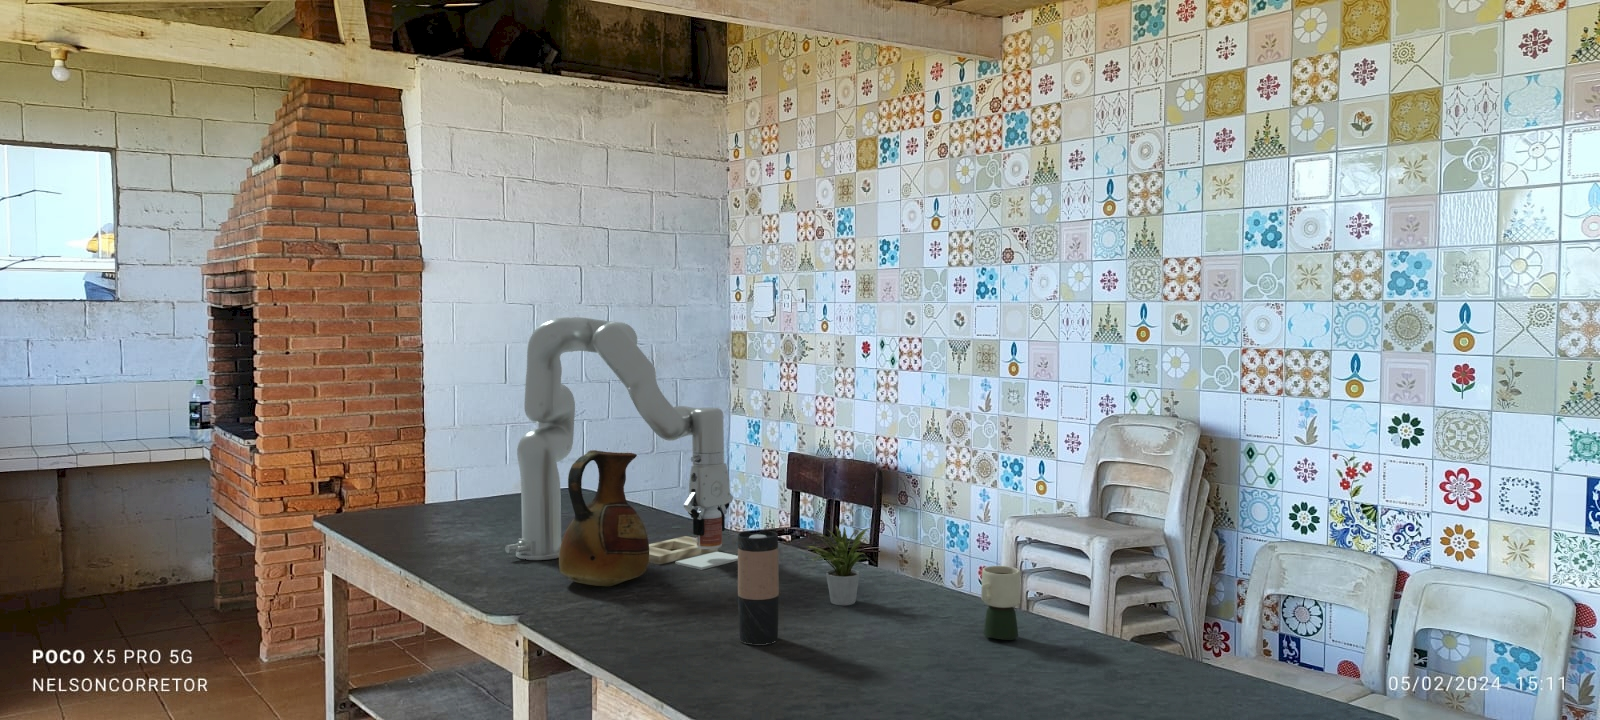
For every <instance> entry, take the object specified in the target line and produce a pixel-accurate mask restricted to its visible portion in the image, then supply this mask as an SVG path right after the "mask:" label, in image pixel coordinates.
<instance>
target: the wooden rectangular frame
mask: <svg viewBox="0 0 1600 720" xmlns="http://www.w3.org/2000/svg"><path fill="white" fill-rule="evenodd" d="M713 552H719V548H716V549H701V548H698V547H697V537H693V536H692V537H691V536H687V535H684V536H679V537H676V538H672V539H666V540H662V541H656V542H653V543H649V562H648V564H649V563H650V564H655V565H660V566H661V565H663V564H667V563H671V562H676V561H680V560H684V559H688V558H692V557H696V556H700V555H704V554H708V553H713Z"/></svg>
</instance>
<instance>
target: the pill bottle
mask: <svg viewBox="0 0 1600 720" xmlns="http://www.w3.org/2000/svg"><path fill="white" fill-rule="evenodd" d="M717 508H718V506H715V507H710V508H705V509H704V513H703V516H702V519H704V536H699V535H695V536H696V538H697V547H698V548H701V549H716V548H718V549H719V548H721V547H722V545H723V531H722V516H721V512H720V511H719V510H718V509H717ZM697 512H699V510H697Z"/></svg>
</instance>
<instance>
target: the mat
mask: <svg viewBox="0 0 1600 720" xmlns="http://www.w3.org/2000/svg"><path fill="white" fill-rule="evenodd" d="M674 562H675V565H679V566H683V567H688V568H692V569H697V570H700V571H702V570H706V569H710V568H715V567H718V566H722V565H725V564H726V565H727V564H729V563H733V562H734V563H735V562H738V555H736V554H731V553H726V552H722V551H714V552H709V553H705V554H701V555H697V556H693V557H689V558H685V559H681V560H676V561H674Z"/></svg>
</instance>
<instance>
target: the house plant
mask: <svg viewBox="0 0 1600 720" xmlns="http://www.w3.org/2000/svg"><path fill="white" fill-rule="evenodd" d="M871 529H872V527H868V528H865V529H857V530H855V531H854V532H853V533H852V534H851V536H850V538H849V540H848V536H847V531H846V528H845V526H844V527H843V531H841V529H840V528H839V526H837V525H835V530H836V535H835V534H834V533H833V532H832V531H831V530H829V529H828V528H826V530H827V531H828V532H829V533H830V534H831V535H832V538H833V539H834V541H835V543H836V545H835V544H834V542H833V541H832V540H831V539H830V538H829V537H828V536H827V535H825V534H822V533H821V532H820V533H819V532H816V531H813V533H814V534H818V536H817V538H818V539H821V541H822V542H824V544H826V545H827V547H828V548H829V549H830V550H831V551H832V552H829V551H827V550H825V549H823V548H820V547H817V546H812V545H806V547H807V548H808V549H811V550H813V551H812V553H817V554H818V555H819V556H816V557H815V558H813V559H812V560H811V562H813V561H815V560H819V559H824V560H825V561H826V562H827V563H828V565H830V566H831V567H832V568H833V569H829V570H826V573H825V574H826V582H827V587H828V593H829V598H830V599H829V600H830V603H831V604H832V605H836V606H851V605H853V604H855V602H856V601H857V595H858V594H857V593H858V588H859V587H858V586H859V581H860V574H861V572H860V571H859V570H856V569H853V567H854V566H855V565H856V563H857V562H860V561H861V560H863V559H866V560H868V561H869V558H868V557H862V556H861V557H859V556H860V555H862V554H863V555H865V556H866V554H865V552H857V551H858V549H859V548H860V546H862V544H863V542H864V541H865V540H866V538H864V539H863V541H862V540H861V539H862V538H863V537H864V535H865V534H866V532H867V531H868V530H871ZM859 531H860V532H859ZM841 532H842V533H841ZM857 532H859V533H858V534H857V535H856V536H855V538H854V540H853V543H852V546H851V547H850V551H849V546H850V544H851V541H852V539H853V537H854V535H855V534H856V533H857ZM820 536H821V537H820ZM823 539H824V540H823ZM832 547H833V548H832ZM834 550H835V551H834ZM848 551H849V552H848Z"/></svg>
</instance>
